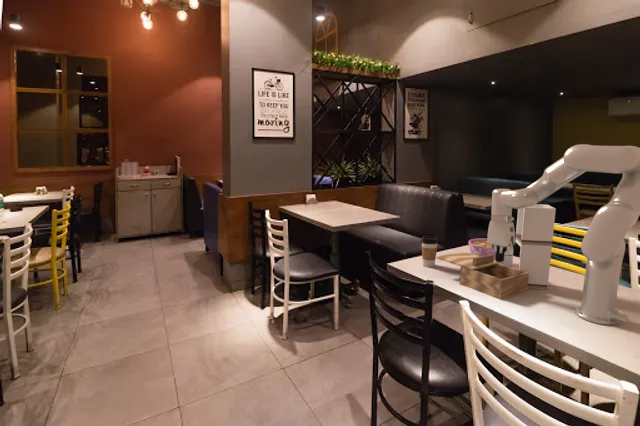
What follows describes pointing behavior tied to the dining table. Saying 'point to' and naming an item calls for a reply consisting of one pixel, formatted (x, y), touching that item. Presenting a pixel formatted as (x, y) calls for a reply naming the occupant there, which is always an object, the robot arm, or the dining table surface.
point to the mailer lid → (468, 260)
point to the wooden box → (495, 280)
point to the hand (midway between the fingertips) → (499, 261)
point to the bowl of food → (481, 247)
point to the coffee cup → (429, 250)
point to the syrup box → (507, 258)
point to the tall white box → (535, 243)
